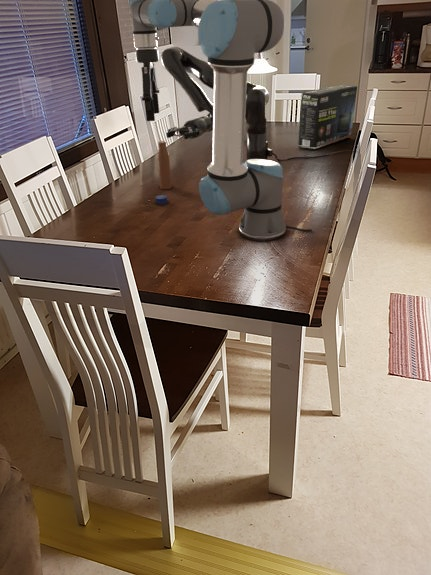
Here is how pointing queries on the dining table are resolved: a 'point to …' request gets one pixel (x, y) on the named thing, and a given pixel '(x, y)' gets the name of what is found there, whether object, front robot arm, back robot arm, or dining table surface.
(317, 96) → the router box
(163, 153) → the bottle
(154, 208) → the dining table surface
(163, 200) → the cap
